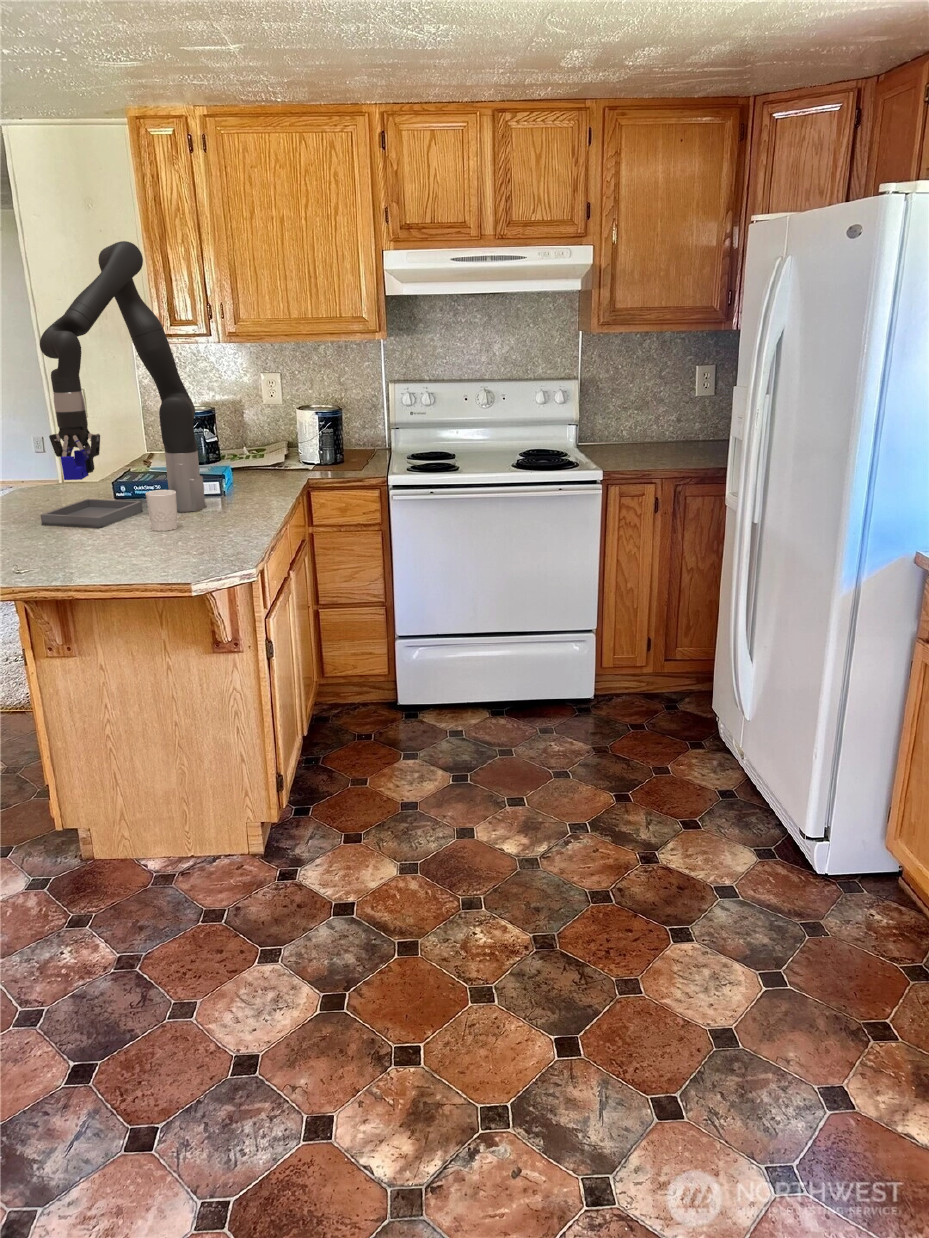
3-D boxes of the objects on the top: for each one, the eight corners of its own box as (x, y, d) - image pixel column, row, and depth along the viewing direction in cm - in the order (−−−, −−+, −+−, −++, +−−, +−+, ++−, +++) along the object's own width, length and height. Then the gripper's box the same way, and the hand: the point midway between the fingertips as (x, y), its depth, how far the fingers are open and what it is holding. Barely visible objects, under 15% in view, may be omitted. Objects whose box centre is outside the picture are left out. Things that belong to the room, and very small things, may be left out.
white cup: (185, 526, 255) (181, 490, 252) (167, 533, 248) (164, 496, 245) (161, 524, 258) (157, 489, 254) (143, 530, 251) (139, 494, 247)
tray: (142, 511, 273) (141, 501, 272) (100, 528, 252) (99, 517, 251) (88, 508, 276) (86, 498, 275) (42, 525, 256) (40, 514, 255)
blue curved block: (81, 479, 245) (77, 457, 243) (64, 480, 245) (60, 457, 243) (95, 471, 257) (92, 449, 255) (79, 471, 256) (75, 450, 254)
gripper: (102, 407, 248) (111, 470, 254) (53, 407, 250) (64, 469, 256) (87, 410, 241) (97, 475, 247) (37, 410, 243) (48, 474, 249)
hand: (80, 472), depth 251 cm, fingers closed on blue curved block, 5 cm apart
